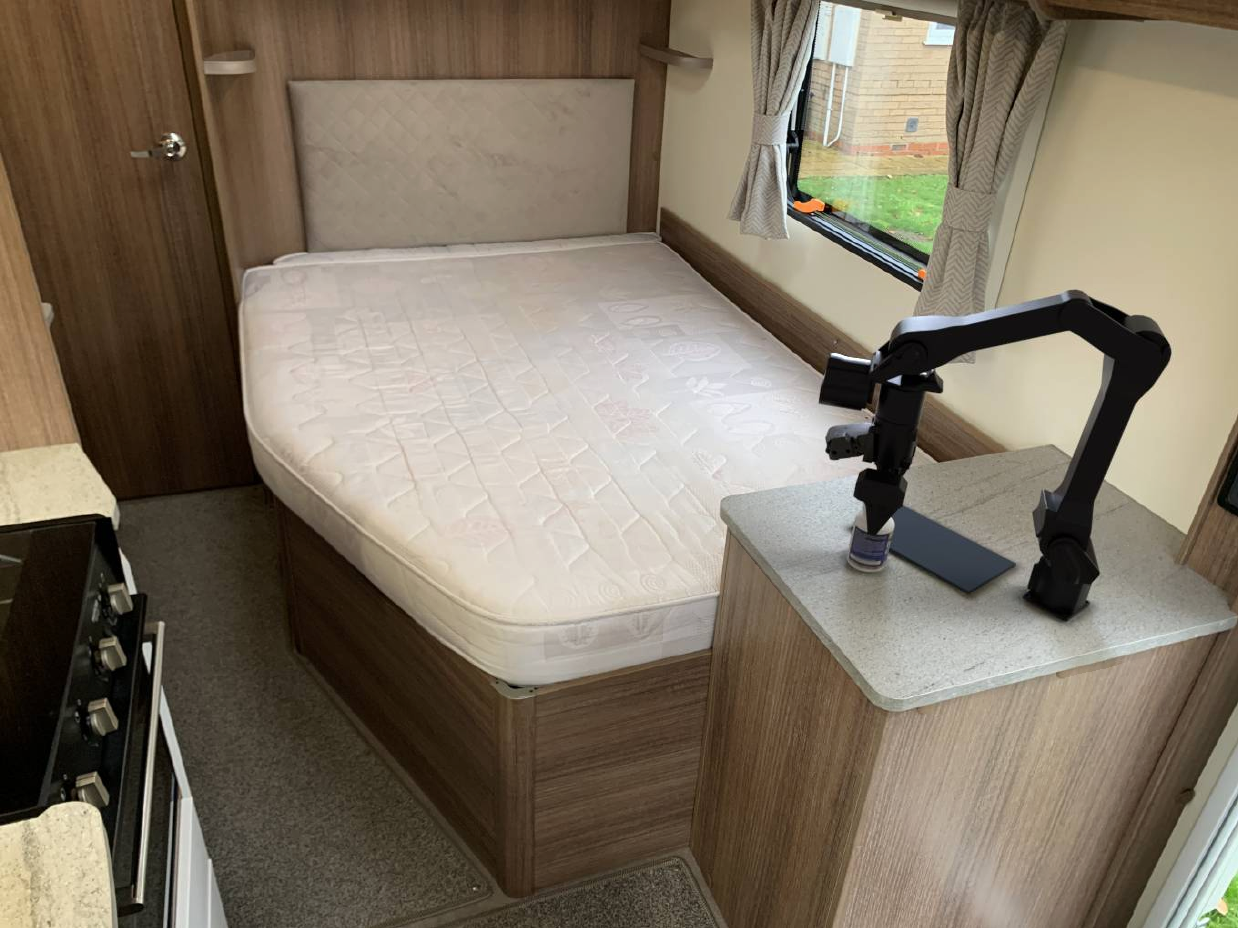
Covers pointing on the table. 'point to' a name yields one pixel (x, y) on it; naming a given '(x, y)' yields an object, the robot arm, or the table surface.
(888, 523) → the pill bottle
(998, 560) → the rubber mat
